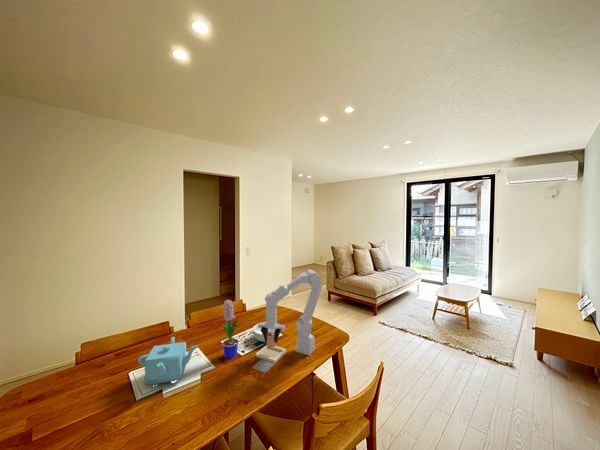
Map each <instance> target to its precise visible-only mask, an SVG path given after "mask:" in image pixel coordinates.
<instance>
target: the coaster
mask: <svg viewBox="0 0 600 450" xmlns="http://www.w3.org/2000/svg"><path fill="white" fill-rule="evenodd" d="M274 365H276V362H275V363H274V362H271V361H268V360H265V359H262V358H260V360H258V362H257V363H255V365H253V366H252V369H254V370H257V371H259V372H261V373H264V374H266V373H267V372H269V371H270V369H271V368H273V366H274Z"/></svg>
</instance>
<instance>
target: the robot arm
mask: <svg viewBox="0 0 600 450" xmlns="http://www.w3.org/2000/svg"><path fill="white" fill-rule="evenodd" d="M321 280H322V278H321V276H320V275H319V274H318V272H315V271H314V270H312V269H306V270H305V271H303V272H302V273H300V274H299V276H296V278H294V279H293V280H292V281H291V282H289V283H287V284H286V285H285V284H283V285H279V286H278V288H276V289H275V290H274V291H271V292H269V293H266V295H265V297H264V301H265V302H266V303H265V322H266V323H262V322H259V324H258V323H257V324H258V328H260V327H262V329H261V332H262V334H263V336H264V339H265V342H264V343H267V336H266V335H267V333H268V329H276V330H275V331H274V333H275V344H277V343H278V342H279V336H280V334H281V331H285V329H286V325H285V324H280V323H278V322H277V321H278V320H277V317H278V316H277V313H278V310H277V305H278V302H280V301H281V300H283V299H284V298H285V297H287V296H288V295H289V294H290V291H292V290H293V289H295V288H297V287H298V286H299V285H301V284H308V285H310V287H311V289H310V292H309V295H308V299H307V301H306V304H305V307H304V309H303V313H302V314H301V315H300V317H299V318H298V320H297V321H296V323H295V326H296V328H297V332H296V339H297V340H296V347H295V348H294V349H293V351H294V352H297V353H300V354H304V355H307V356H310V355H311V354H312V353H313V351H315V350H316V344H315V343H316V342H315V341H316V340H315V339H316V337H315V336H314V335H312V334H311V333H312V325H313V321H312V320H313V319H312V318H313V315H314V312H315V309H316V306H317V304H318V301H319V299H320V298H319V297H320V295H321V292H322V290H323V289H322V287H323V286H322V281H321Z"/></svg>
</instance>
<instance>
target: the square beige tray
mask: <svg viewBox="0 0 600 450" xmlns="http://www.w3.org/2000/svg"><path fill="white" fill-rule="evenodd" d="M286 353H287V349H286V348H284V347H280V346H277V345H275V346H274V347H272V348H269V347H267V344H266V345H265V346H263V348H261V349H260V350H258V351H257V352H255V356H256V358H259V359H264V360H267V361H270V362H273V363H275V364H276V363H277V362H278V361H279V359H281V357H283V356H284V355H285V354H286Z"/></svg>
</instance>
